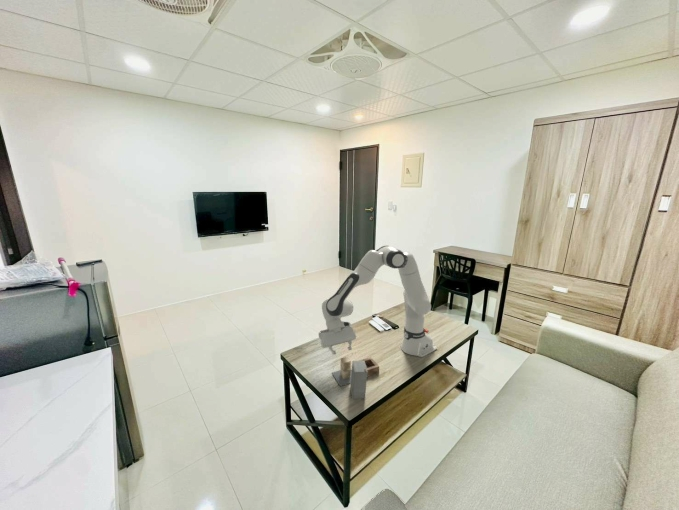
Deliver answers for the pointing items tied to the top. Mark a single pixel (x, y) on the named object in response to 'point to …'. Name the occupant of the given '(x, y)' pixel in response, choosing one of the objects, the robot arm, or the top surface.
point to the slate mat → (340, 379)
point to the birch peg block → (345, 368)
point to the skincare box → (358, 379)
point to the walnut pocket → (373, 364)
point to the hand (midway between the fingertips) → (342, 352)
